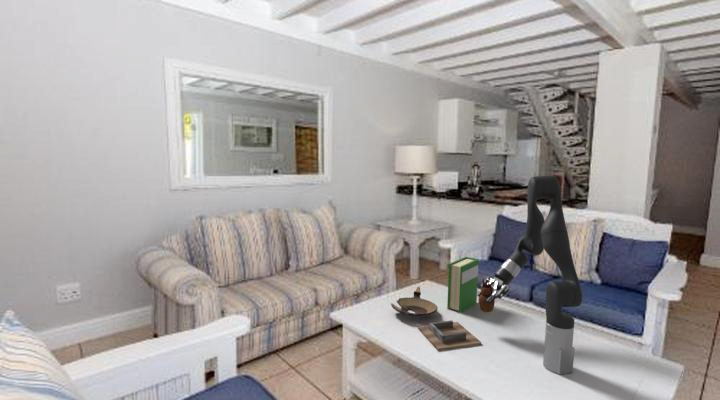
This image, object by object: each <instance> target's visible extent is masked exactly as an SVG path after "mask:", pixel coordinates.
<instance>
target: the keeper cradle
mask: <svg viewBox="0 0 720 400" xmlns="http://www.w3.org/2000/svg"><path fill="white" fill-rule="evenodd" d="M428 323H429V324H428V325H421V326H420V325H419V326H417V329H418V330H419V332H420V333H421V334H422V336H423V337H424V338H426V339H427V341H428V342H429V343H430V344H431V345H432V346H433V348H434V349H435V350H436V351H438V352H440V351H448V350H453V349H459V348H460V349H461V348H469V347H474V346H481V345H482V341H481V340H479V338H477V337H476V336H475V335H473V334H472V333H471V332H470V331H468V329H466V328H465V327H464V326H463V324H461V323H460V322H459V321H453V320H452V319H451V320H444V321H437V322H436V321H435V322H434V321H433V322H428Z"/></svg>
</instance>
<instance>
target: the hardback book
mask: <svg viewBox="0 0 720 400" xmlns="http://www.w3.org/2000/svg"><path fill="white" fill-rule="evenodd" d="M479 263H480V261H479V258H473V257H469V256H464V257H462V258H459V259H457V260H454V261H453V262H450V263H448V280H447V281H448V284H447V305H446V306H447V307H446V309H447V310H450V309H452V310H455V311H458V313H459V314H462V313H464V312H465V311H467V310H468V309H470V308H471V307H473V306H474V305H476V304H477V301H478V284H479V283H478V281H479V280H478V279H479V278H478V277H479Z"/></svg>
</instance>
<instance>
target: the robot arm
mask: <svg viewBox="0 0 720 400" xmlns="http://www.w3.org/2000/svg"><path fill="white" fill-rule="evenodd" d="M561 192H562V191H561V184H560V181H559V179H558V177H557V176H556V175H537V176H533V177H530V178H529V180H528V185H527V197H526V199H527V200H526V201H527V217H526V223H525V230H524V232H525V234H524V235H522V236H521V237H520V238H519V240H518V243H517V245H516V246H515V249H514V250H513V253H512V254H510V256H509V257H508V258H507V259H506V260H505V261H504V262H503V263H502V264H501V265H500V266H499V268H498V269H497V270H496V271H495V272H494V275H493V277H490V276H489V275H488V276H487V277H485V279H484V283H486V279H487V285H488V282H489V285H490V283H491V287H492V289H493V293H492V295H491V296H490V297H489V298H488V299H487V303H488V304H491V303H492V302H493V301H494V300H495V301H496V299H499V300H501V299H502V298H503V297H504V296H505V295H506V294H507V293H508V292H509V291H510V288H509V287H508V286H509V285H510V284H511V283H512V282H513V280H515V278H516V277H517V276H518V274H520V273H521V272H520V271H521V270H522V269H523V268H524V267H525V266H526V265H527V263H528V262H529V259H528V257H527V255H525V254H524V253H523V252H524V251H526V252H527V253H529V254H531V255H532V256H540V255H541V254H542V253H543V252H544V251H545V253H546V254H547V255H548V256H549V257H550V259H551V260H552V261H553V262H554V264H555V265H556V266H557V267H558V269H559V271H560V273H561V276H562V277H561V278H562V279H563V281H562V280H560V281H559V280H558V281H557V280H556V281H555V280H554V281H549V282H548V284H547V285H546V289H545V315H546V316H545V317H546V318H545V319H546V321H545V330H544V331H545V332H544V333H545V335H544V347H543V359H542V365H543V367H544V368H545V369H547V370H548V371H550V372H552V373H556V374H557V375H564V374H571V373H574V372H573V371H574V370H573V369H574V361H575V350H576V349H575V348H574V347H573V345H574V344H573V342H574V333H575V319H574V317H573V316H571V315H570V314H569V313H566V312H562V311H563V310H562V308H577V307H580V306H581V305H582V302H583V292H582V287H581V284H580V281H579V278H578V275H577V270H576V267H575V264H574V259H573V255H572V251H571V245H570V237H569V233H568V228H567V225H566V219H565V216H564V215H565V214H564V209H563V202H562V201H563V199H562V193H561ZM544 199H545V200H546V199H549V202H550V208H549V211H548V214H547V216H546V218H544V215H543V213H542V212H541V210H540V209H539V207H538V204H537V201H538V200H544ZM482 284H483V282H482V283H481V284H480V287H481V288H482V287H483V285H482ZM481 294H482V293H481V290H480V291H479V292H477V298H479V296H480V295H481Z"/></svg>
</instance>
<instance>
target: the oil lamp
mask: <svg viewBox="0 0 720 400" xmlns="http://www.w3.org/2000/svg"><path fill="white" fill-rule="evenodd" d="M421 294H422V293H421V287H420V286H416V289H415V291H413V296H412V297H400V298H398V299H397V300H396V303H397V304H398V305H399V307H398V306H397V305H395V304H394V303H390V306H391V308H392V309H393V310H395V311H396V312H398V313H400V314H402V315H404V316H409V317H412V318H413V317H415V318H416V317H419V318H420V317H426V316H430V315H432V314H436V312H438V306H437V305H436V303H434V302H432V301H431V300H428V299H425V298H421V296H422V295H421ZM408 310H410V311H408Z"/></svg>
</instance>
